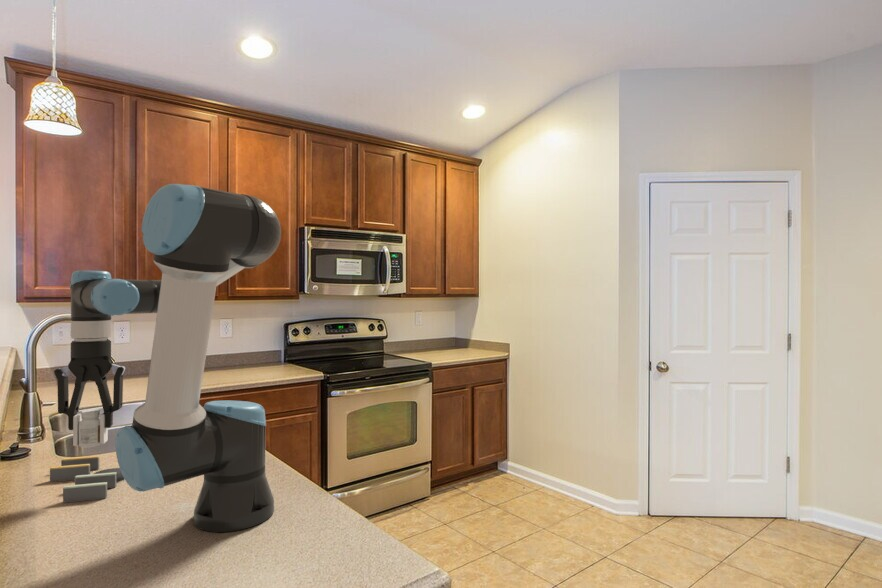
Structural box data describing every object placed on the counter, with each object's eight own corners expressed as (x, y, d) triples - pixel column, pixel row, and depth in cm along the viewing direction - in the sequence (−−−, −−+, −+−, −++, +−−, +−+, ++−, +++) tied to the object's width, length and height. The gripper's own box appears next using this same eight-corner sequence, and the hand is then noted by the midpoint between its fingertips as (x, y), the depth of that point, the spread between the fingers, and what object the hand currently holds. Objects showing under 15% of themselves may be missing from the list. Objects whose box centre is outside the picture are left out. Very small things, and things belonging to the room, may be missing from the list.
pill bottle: (104, 444, 115) (104, 410, 115) (81, 449, 112) (81, 414, 111) (99, 440, 118) (99, 407, 118) (76, 444, 115) (76, 410, 114)
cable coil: (121, 483, 121) (121, 476, 121) (87, 486, 119) (87, 479, 119) (129, 473, 128) (129, 466, 128) (97, 476, 126) (97, 469, 126)
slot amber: (88, 478, 124) (88, 465, 124) (49, 481, 122) (49, 468, 122) (99, 468, 131) (99, 455, 131) (62, 471, 129) (62, 458, 129)
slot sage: (105, 498, 112) (105, 483, 112) (63, 502, 110) (63, 487, 110) (116, 486, 119) (116, 472, 119) (76, 489, 117) (76, 475, 117)
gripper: (139, 337, 121) (139, 435, 121) (52, 338, 116) (52, 441, 116) (130, 340, 114) (130, 444, 114) (37, 341, 108) (36, 451, 109)
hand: (90, 442), depth 115 cm, fingers closed on pill bottle, 4 cm apart
